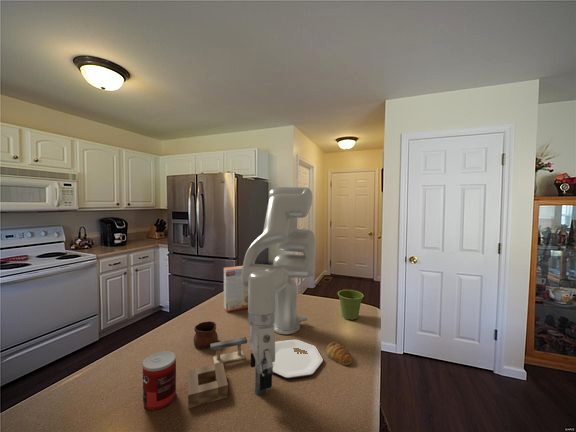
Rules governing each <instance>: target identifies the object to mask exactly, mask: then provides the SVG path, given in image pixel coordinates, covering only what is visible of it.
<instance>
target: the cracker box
mask: <svg viewBox="0 0 576 432" xmlns="http://www.w3.org/2000/svg"><path fill="white" fill-rule="evenodd" d="M242 267H243V265H237V266H228V267H227V266H226V267H223V308H224V310H225V312H226V313H228V312H233V311H237V310H238V311H239V310H243V309H248V288H247V287H245V286H244V285H243V284H242V281H241V274H242Z"/></svg>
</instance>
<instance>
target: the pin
mask: <svg viewBox="0 0 576 432" xmlns="http://www.w3.org/2000/svg"><path fill="white" fill-rule="evenodd" d="M264 361H265V359H263V360H262V362H264ZM266 366H267V365H266V364H264V365H263V369H264V370H265V369H266ZM254 368H255V369H254V372H255V373H254V375H255V377H254V393H255V394H256V395H257V396H263V395H265V394H266V393H267V389H264V390H260V374H261V369H260V365H259V364H258V363H257V362H256V360H255V367H254Z"/></svg>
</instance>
